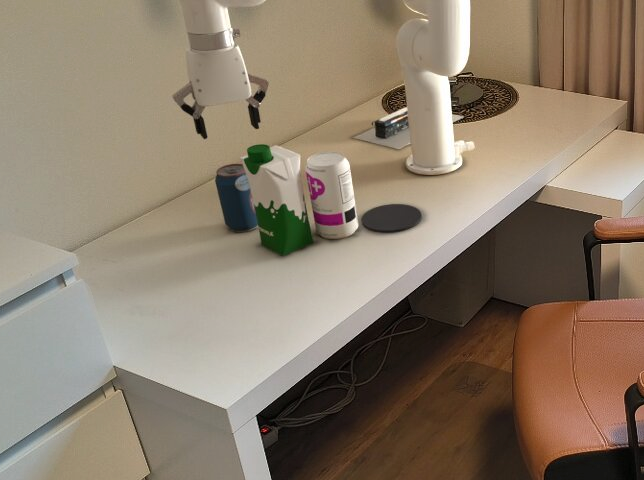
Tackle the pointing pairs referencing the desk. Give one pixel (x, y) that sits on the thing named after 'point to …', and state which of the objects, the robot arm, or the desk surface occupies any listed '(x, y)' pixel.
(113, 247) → the desk surface
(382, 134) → the white tray with gadget
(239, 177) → the soda can
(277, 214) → the soya milk
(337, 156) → the supplement can
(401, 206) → the coaster
